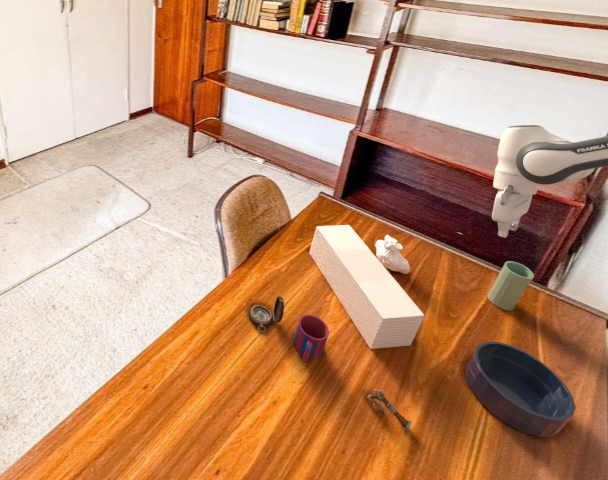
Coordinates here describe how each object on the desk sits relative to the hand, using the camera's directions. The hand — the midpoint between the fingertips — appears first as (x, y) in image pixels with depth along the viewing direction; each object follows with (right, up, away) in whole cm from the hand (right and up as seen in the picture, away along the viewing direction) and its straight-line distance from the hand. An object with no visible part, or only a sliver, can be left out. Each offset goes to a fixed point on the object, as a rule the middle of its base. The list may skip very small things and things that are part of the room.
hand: (507, 233), depth 108 cm
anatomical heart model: (-25, -14, +13) cm, 32 cm away
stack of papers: (-41, -18, +3) cm, 45 cm away
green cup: (0, -20, +2) cm, 20 cm away
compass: (-69, -21, -6) cm, 72 cm away
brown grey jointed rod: (-48, -31, -25) cm, 63 cm away
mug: (-61, -25, -13) cm, 67 cm away
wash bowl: (-18, -30, -21) cm, 41 cm away
